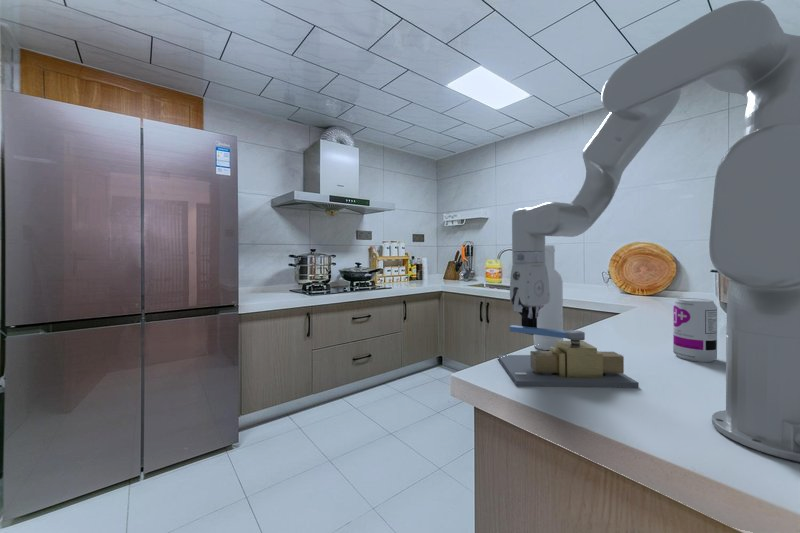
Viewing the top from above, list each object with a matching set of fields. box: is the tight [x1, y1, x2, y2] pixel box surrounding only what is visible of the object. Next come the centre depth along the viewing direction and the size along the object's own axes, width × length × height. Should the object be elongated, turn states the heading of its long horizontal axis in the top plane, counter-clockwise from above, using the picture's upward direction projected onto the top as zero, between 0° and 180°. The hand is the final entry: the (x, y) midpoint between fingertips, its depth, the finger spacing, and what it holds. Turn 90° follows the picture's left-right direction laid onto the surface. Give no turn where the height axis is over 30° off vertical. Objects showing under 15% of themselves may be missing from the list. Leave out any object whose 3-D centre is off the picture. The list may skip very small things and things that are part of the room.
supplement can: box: [672, 297, 718, 363], centre depth 82 cm, size 8×8×15 cm
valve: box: [529, 340, 625, 378], centre depth 70 cm, size 6×18×8 cm, turn 85°
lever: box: [509, 324, 586, 341], centre depth 74 cm, size 16×4×1 cm, turn 53°
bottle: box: [533, 244, 564, 351], centre depth 93 cm, size 8×8×30 cm
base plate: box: [496, 354, 640, 389], centre depth 74 cm, size 18×24×1 cm
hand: (529, 333), depth 79 cm, fingers closed
